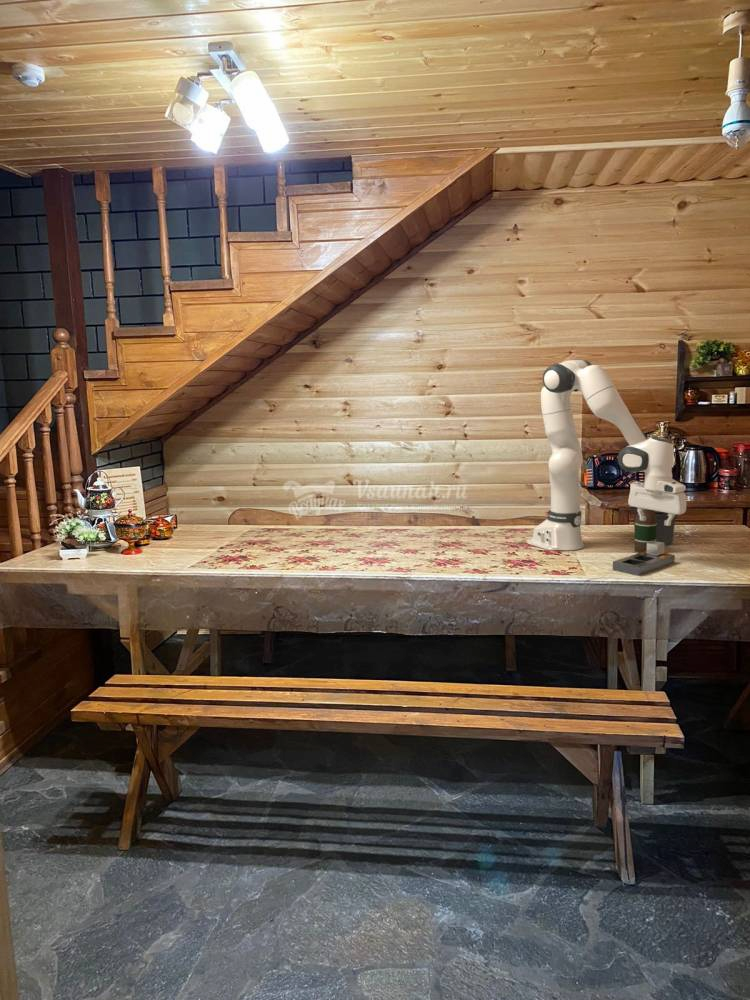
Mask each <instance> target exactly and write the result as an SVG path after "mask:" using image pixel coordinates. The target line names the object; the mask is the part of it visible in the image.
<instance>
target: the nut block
mask: <svg viewBox="0 0 750 1000" xmlns="http://www.w3.org/2000/svg"><path fill="white" fill-rule="evenodd" d="M664 553H665V545H664V543H662V542H656V541H652V542H649V543H647V554H646V555H649V556H654V557H660V556H663V555H664Z"/></svg>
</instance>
